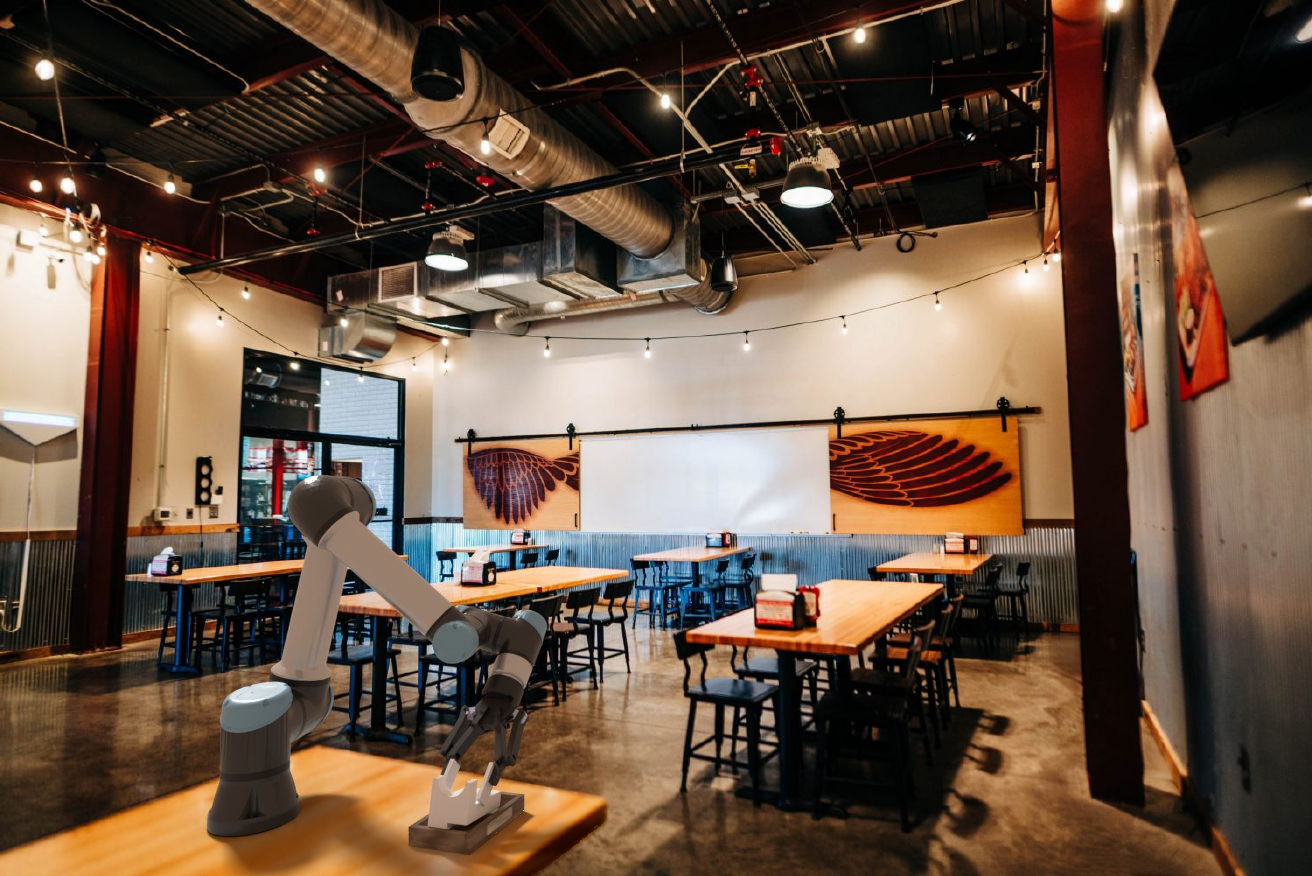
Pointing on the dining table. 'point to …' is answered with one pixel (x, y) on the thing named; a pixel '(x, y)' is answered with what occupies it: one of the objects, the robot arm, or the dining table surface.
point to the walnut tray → (467, 828)
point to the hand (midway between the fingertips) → (460, 800)
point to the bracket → (458, 804)
